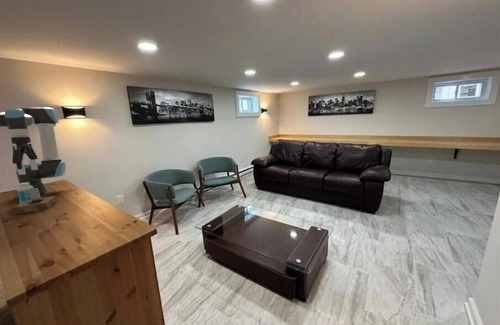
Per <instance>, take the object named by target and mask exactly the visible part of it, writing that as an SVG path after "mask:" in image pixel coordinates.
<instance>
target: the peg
mask: <svg viewBox="0 0 500 325" xmlns="http://www.w3.org/2000/svg"><path fill="white" fill-rule="evenodd" d="M29 193H30V197H31V201H32V203H37V202H41V198H42V197H41V194H39V189H38V188H33V189H29Z"/></svg>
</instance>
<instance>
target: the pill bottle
mask: <svg viewBox="0 0 500 325" xmlns="http://www.w3.org/2000/svg"><path fill="white" fill-rule="evenodd" d="M19 186H20V187H19ZM29 189H33V186H30V185H29V182H27V183H20V184H19V183H18V187H17V188H16V192H17V196H18V200H19V204H21V203H23V202H24V201H26V200H29V199H31V197H30V193H29Z"/></svg>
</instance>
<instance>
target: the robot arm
mask: <svg viewBox="0 0 500 325" xmlns="http://www.w3.org/2000/svg"><path fill="white" fill-rule="evenodd" d="M57 123H59V117H58V115H57V113H56V111H55V109H54V108H52V107H46V106H44V107H39V106H38V107H32V106H31V107H30V106H29V107H28V106H27V107H17V108H13V109H11V108H9V109H7V108H5V109H4V111H3V112H0V128H2V127H3V128H4V127H6V128H8V133H9V136H10V137H11V138H10V140H11V144H13V145H12V164H14V165H16V166H15V174H16V175H17V181H18V188H19V187H20V186H19V184H20V183H27V182H29V185H30V186H33V188H38V189H39V194H40V195H41V194H43V193H46V192H47V191H48V189H47V187H46V185H45V184H44V183H43V181H42V179H49V178H50V179H51V178H57V177H58V178H59V177H63V176H64V175H65V173H66V163H65V161H63V160H62V158H60V156H59V153H58V147H57V138H56V134H55V127H56V124H57ZM33 125H34V126H35V127H37V128H38V133H39V140H40V147H41V153H42V159H41V161H40V163H38V161H36V160H38V156H37V154H36V152H35V150H34V148H33V145H32V141H31V137H30V132H29V128H28V127H30V126H33ZM24 155H26V156H27V157H28V160H29V162H26V163H24V162H23V160H24Z"/></svg>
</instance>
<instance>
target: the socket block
mask: <svg viewBox="0 0 500 325" xmlns="http://www.w3.org/2000/svg"><path fill="white" fill-rule="evenodd" d="M40 198H41V202H37V203H32V201H31V199H29V200H26V201H24V202H23V203H21V204H20V203H19V204H17V205H16V206H14V207H13V209H14V212H15V215H18V214H19V213H20V214H25V213H31V212H39V211H44V210H48V209H50V208H51V207H52V206H53V205H54V204H56V203H57V202H58V200H57V195H52V196H46V197H40Z"/></svg>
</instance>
